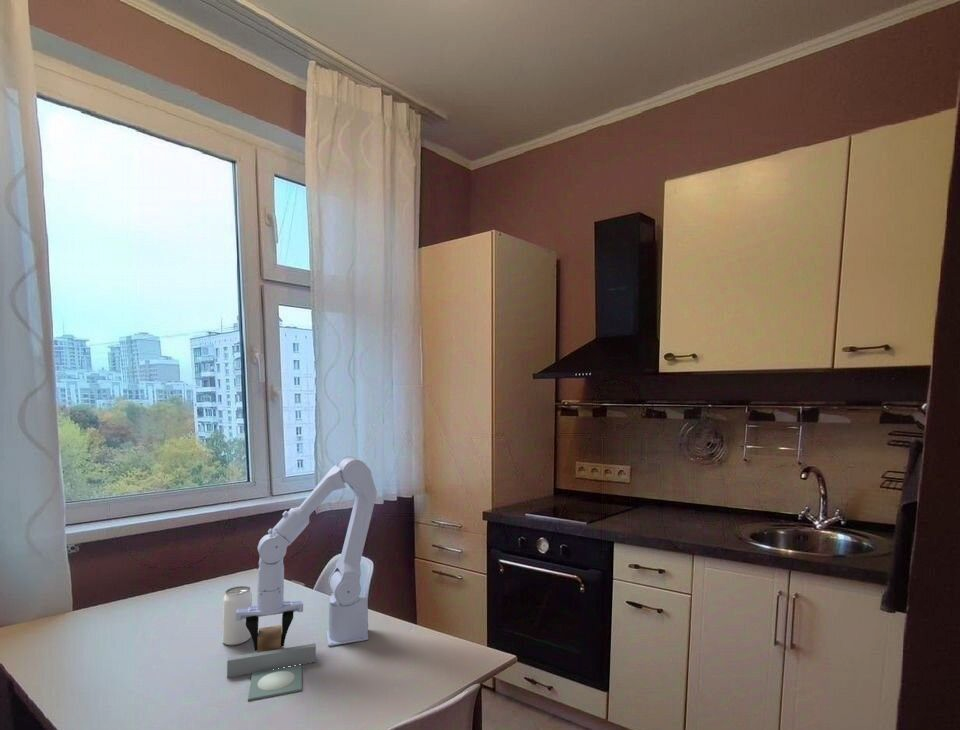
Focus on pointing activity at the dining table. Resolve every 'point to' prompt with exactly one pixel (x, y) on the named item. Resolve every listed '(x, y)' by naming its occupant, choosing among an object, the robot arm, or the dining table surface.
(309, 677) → the dining table surface
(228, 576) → the dining table surface
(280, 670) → the mat
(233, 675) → the low wall
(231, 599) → the can
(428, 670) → the dining table surface
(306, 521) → the robot arm
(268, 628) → the walnut block
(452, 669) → the dining table surface
